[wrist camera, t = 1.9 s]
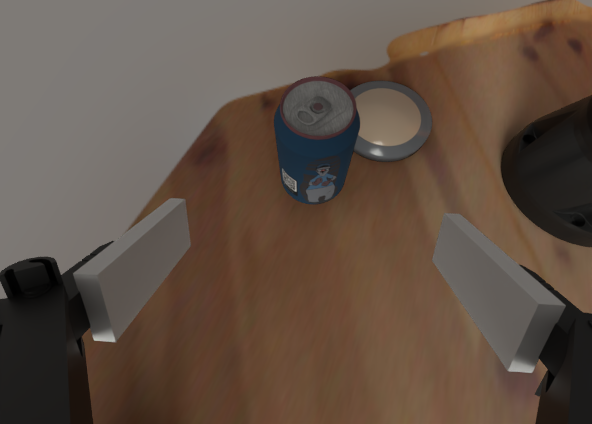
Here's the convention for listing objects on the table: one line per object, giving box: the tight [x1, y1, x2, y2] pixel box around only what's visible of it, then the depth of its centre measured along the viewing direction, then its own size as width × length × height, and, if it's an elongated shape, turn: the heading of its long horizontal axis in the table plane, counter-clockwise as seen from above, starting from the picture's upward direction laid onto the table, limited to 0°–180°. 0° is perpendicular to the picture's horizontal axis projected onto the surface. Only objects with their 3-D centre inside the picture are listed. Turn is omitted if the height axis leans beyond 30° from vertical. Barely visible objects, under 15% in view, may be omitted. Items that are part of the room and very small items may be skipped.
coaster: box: [350, 81, 432, 162], centre depth 35 cm, size 11×11×1 cm
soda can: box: [274, 77, 360, 204], centre depth 27 cm, size 7×7×12 cm
